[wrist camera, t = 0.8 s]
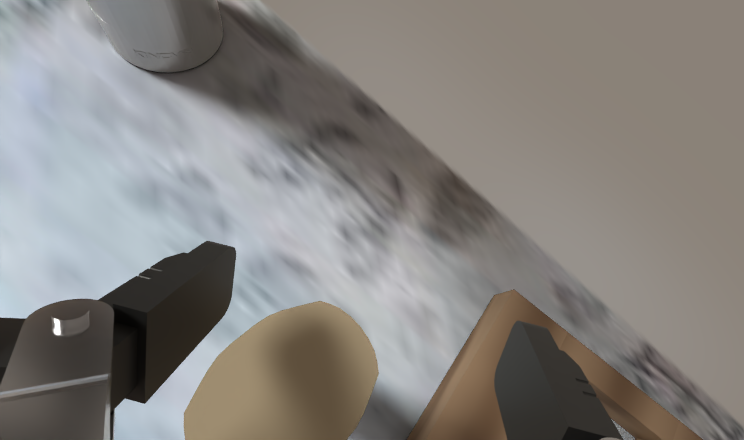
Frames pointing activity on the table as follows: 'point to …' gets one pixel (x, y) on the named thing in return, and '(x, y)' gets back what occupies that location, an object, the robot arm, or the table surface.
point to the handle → (287, 380)
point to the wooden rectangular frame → (477, 393)
